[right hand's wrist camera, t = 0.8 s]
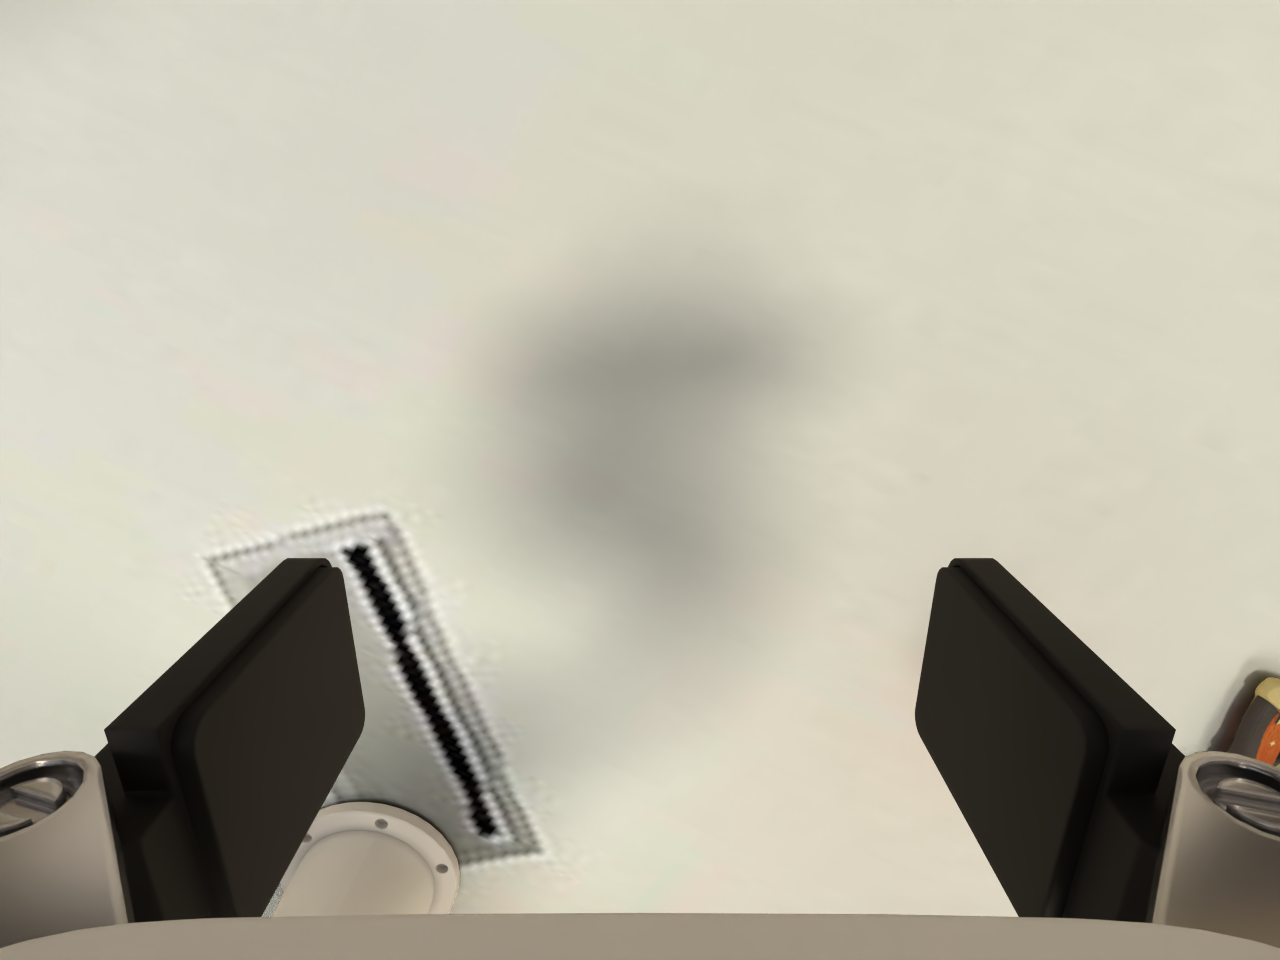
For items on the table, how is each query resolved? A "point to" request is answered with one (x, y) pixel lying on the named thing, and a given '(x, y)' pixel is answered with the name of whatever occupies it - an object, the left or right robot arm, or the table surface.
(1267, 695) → the toy gun
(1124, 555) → the table surface
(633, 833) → the table surface
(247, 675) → the right robot arm
